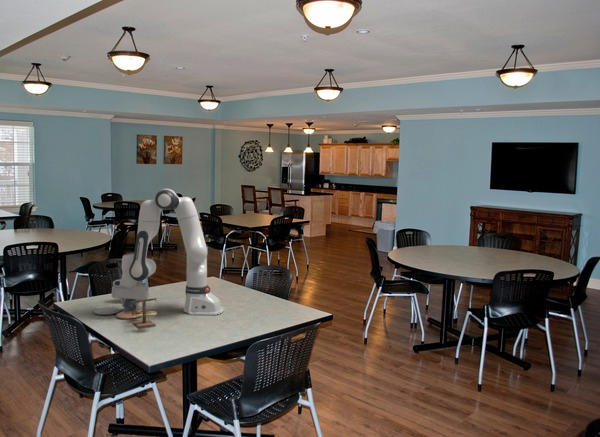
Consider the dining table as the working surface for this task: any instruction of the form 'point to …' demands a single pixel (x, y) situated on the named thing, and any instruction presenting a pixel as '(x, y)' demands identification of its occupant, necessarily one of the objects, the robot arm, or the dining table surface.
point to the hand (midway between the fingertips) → (130, 306)
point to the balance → (144, 322)
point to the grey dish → (106, 310)
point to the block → (129, 305)
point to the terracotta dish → (126, 315)
